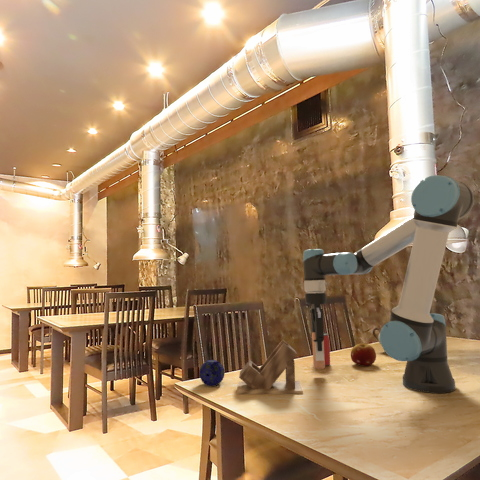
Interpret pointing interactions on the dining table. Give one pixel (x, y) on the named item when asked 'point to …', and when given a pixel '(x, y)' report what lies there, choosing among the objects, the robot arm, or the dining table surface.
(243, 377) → the socket
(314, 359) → the peg
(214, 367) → the ball
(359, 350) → the fruit
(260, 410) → the dining table surface
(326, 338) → the beer can
